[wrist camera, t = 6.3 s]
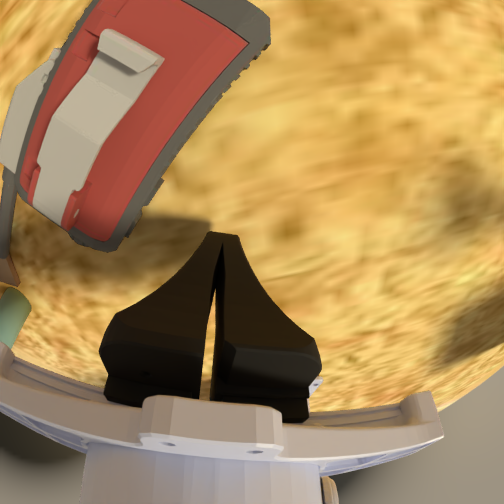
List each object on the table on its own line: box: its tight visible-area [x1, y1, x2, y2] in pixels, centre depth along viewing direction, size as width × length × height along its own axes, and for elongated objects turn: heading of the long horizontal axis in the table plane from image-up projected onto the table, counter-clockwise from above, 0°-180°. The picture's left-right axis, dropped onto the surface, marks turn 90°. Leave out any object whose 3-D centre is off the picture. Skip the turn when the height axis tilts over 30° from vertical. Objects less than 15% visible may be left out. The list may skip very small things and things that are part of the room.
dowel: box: [0, 287, 31, 349], centre depth 14 cm, size 3×3×7 cm
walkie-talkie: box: [0, 0, 271, 259], centre depth 9 cm, size 9×4×20 cm
